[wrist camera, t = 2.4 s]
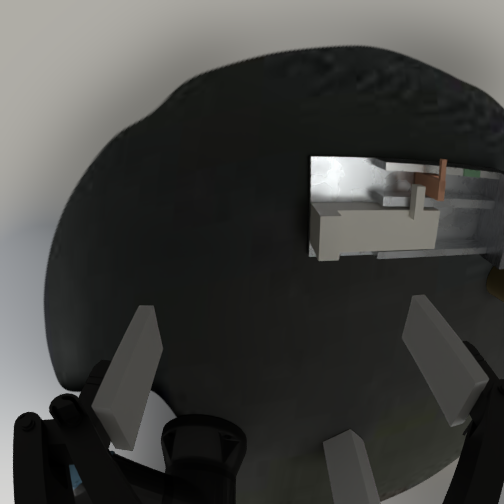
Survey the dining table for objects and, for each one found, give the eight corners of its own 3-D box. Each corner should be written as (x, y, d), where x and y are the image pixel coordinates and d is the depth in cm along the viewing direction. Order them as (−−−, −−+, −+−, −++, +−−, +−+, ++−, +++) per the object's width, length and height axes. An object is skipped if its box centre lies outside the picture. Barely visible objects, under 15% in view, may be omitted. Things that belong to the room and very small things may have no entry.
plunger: (309, 242, 35) (318, 261, 31) (311, 176, 32) (321, 185, 28) (422, 239, 35) (442, 255, 30) (429, 179, 32) (452, 189, 28)
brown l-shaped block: (414, 188, 33) (437, 200, 28) (416, 152, 31) (441, 159, 26) (431, 189, 33) (455, 201, 28) (434, 153, 31) (459, 161, 26)
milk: (362, 439, 52) (389, 534, 32) (336, 451, 54) (355, 546, 34) (350, 428, 50) (377, 532, 30) (321, 441, 52) (340, 544, 32)
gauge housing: (307, 253, 37) (319, 282, 30) (309, 155, 32) (324, 165, 26) (483, 246, 37) (513, 267, 30) (495, 168, 32) (530, 181, 26)
